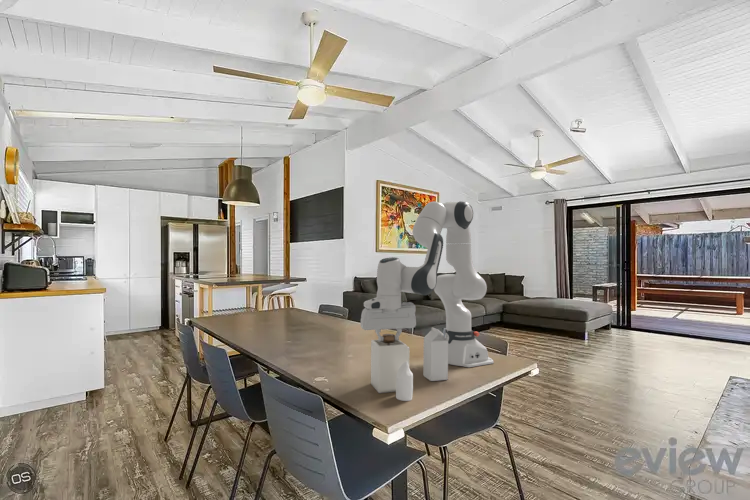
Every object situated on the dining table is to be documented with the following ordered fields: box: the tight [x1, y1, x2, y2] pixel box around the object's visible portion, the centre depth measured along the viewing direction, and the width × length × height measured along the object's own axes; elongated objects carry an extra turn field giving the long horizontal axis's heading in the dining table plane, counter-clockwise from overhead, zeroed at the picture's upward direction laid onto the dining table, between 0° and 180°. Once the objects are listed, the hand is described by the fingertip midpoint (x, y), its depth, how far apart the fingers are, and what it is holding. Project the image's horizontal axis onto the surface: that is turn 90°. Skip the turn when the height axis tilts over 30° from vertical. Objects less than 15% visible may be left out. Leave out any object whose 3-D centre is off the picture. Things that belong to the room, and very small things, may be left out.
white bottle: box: [395, 362, 414, 402], centre depth 125 cm, size 6×12×6 cm
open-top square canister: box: [370, 339, 410, 394], centre depth 135 cm, size 13×10×16 cm
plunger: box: [381, 333, 396, 345], centre depth 135 cm, size 8×8×16 cm
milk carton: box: [422, 327, 449, 382], centre depth 146 cm, size 7×7×19 cm
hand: (388, 341), depth 135 cm, fingers closed on plunger, 4 cm apart
